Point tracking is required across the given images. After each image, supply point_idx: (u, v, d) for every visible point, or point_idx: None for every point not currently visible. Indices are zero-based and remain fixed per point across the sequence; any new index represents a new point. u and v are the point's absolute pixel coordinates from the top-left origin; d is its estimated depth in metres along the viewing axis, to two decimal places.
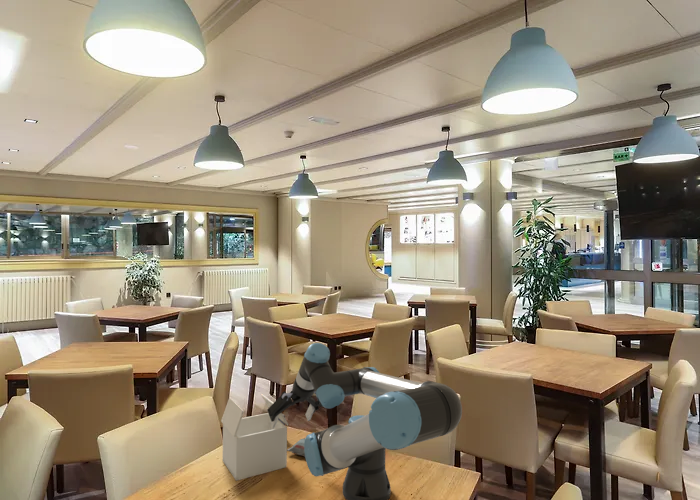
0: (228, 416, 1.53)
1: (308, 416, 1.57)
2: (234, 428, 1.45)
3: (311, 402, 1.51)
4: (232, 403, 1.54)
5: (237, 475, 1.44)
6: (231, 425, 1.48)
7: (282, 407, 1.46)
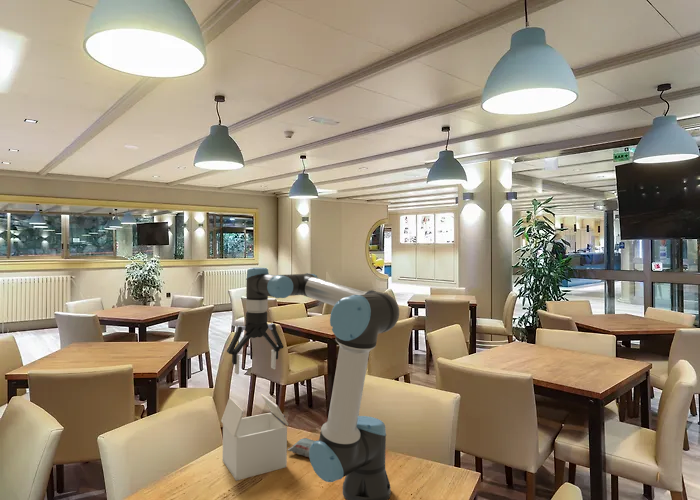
0: (228, 416, 1.53)
1: (273, 364, 1.58)
2: (234, 428, 1.45)
3: (269, 339, 1.56)
4: (232, 403, 1.54)
5: (237, 475, 1.44)
6: (231, 425, 1.48)
7: (240, 343, 1.51)
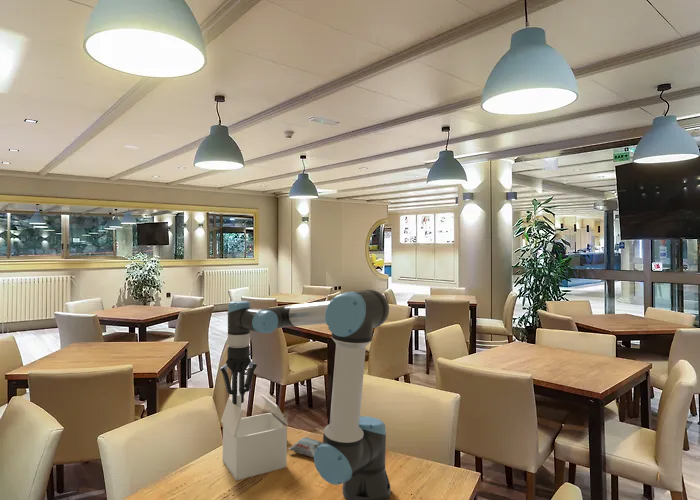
0: (228, 416, 1.53)
1: None
2: (234, 428, 1.45)
3: (242, 378, 1.52)
4: (231, 403, 1.54)
5: (237, 475, 1.44)
6: (231, 425, 1.48)
7: (233, 383, 1.51)
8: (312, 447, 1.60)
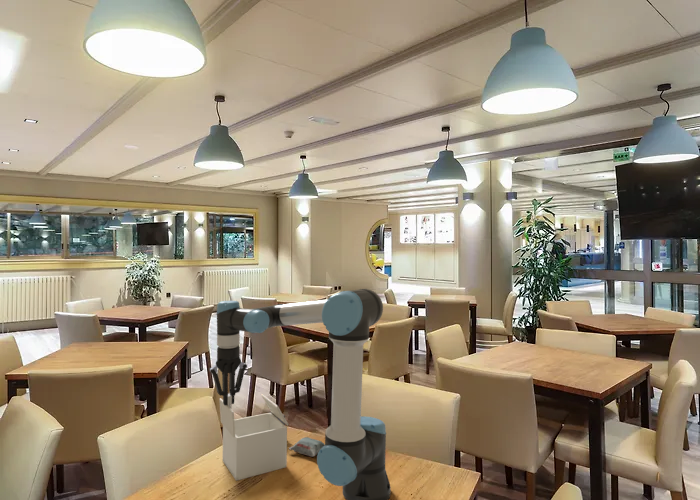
0: (224, 417, 1.52)
1: None
2: (231, 429, 1.45)
3: (232, 379, 1.50)
4: (223, 404, 1.52)
5: (237, 475, 1.44)
6: (228, 426, 1.48)
7: (223, 384, 1.49)
8: (312, 446, 1.60)
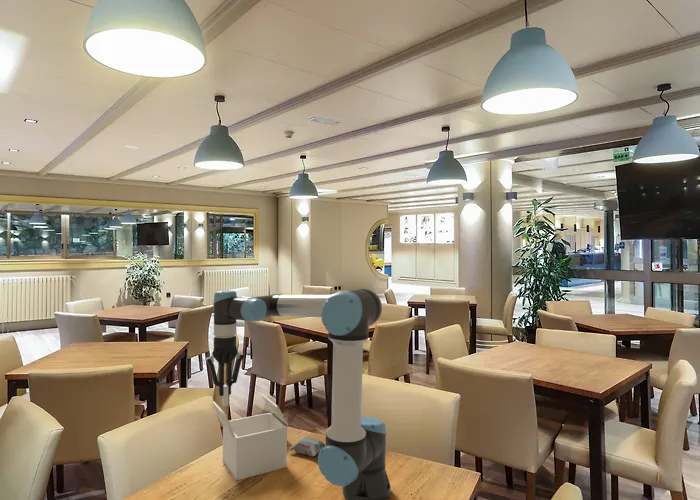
0: (221, 419, 1.51)
1: None
2: (229, 430, 1.44)
3: (229, 370, 1.49)
4: (216, 407, 1.51)
5: (237, 475, 1.44)
6: (227, 427, 1.47)
7: (220, 374, 1.48)
8: (313, 446, 1.61)
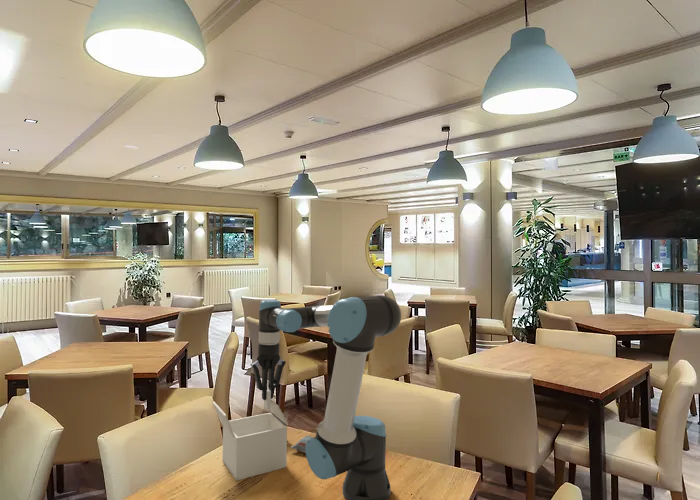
0: (221, 419, 1.51)
1: None
2: (229, 430, 1.44)
3: (272, 375, 1.57)
4: (216, 407, 1.51)
5: (237, 475, 1.44)
6: (227, 427, 1.47)
7: (263, 379, 1.56)
8: None
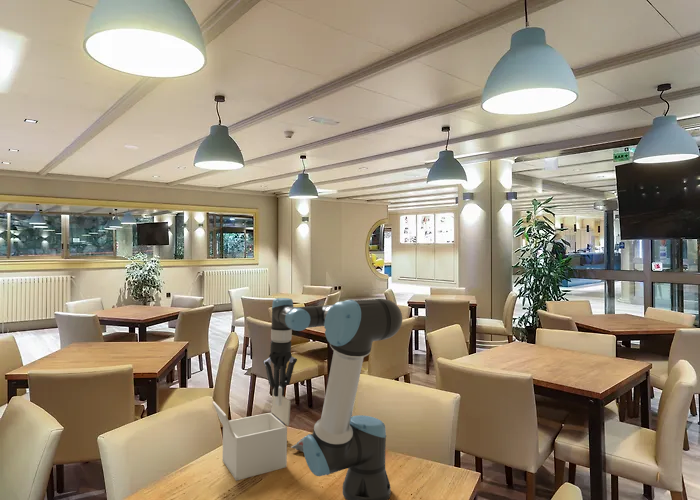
0: (221, 419, 1.51)
1: None
2: (229, 430, 1.44)
3: (284, 372, 1.60)
4: (216, 407, 1.51)
5: (237, 475, 1.44)
6: (227, 427, 1.47)
7: (275, 376, 1.59)
8: None
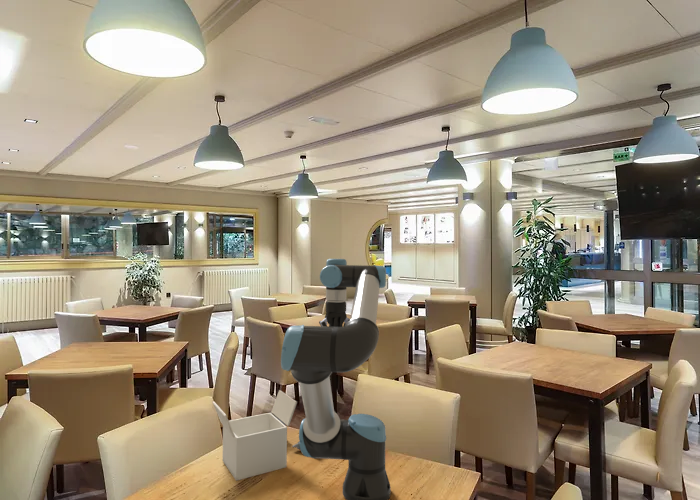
0: (221, 419, 1.51)
1: None
2: (229, 430, 1.44)
3: None
4: (216, 407, 1.51)
5: (237, 475, 1.44)
6: (227, 427, 1.47)
7: None
8: None
